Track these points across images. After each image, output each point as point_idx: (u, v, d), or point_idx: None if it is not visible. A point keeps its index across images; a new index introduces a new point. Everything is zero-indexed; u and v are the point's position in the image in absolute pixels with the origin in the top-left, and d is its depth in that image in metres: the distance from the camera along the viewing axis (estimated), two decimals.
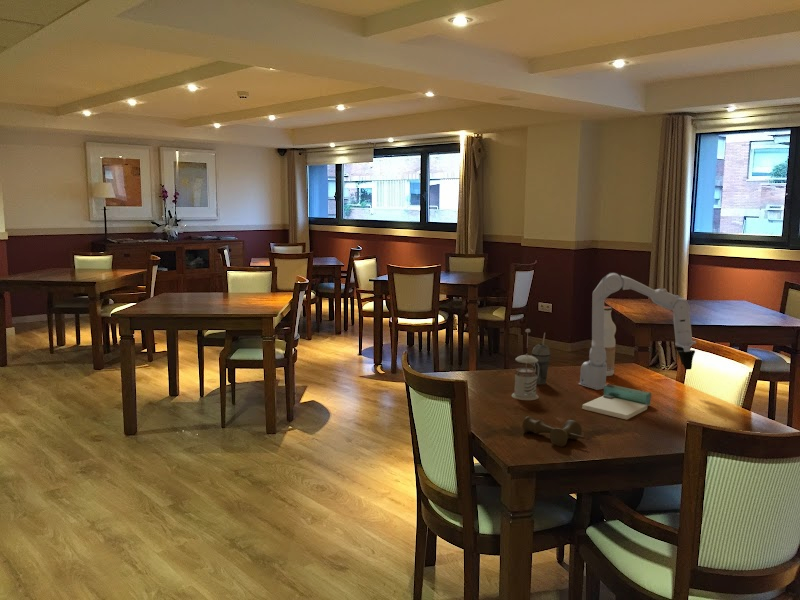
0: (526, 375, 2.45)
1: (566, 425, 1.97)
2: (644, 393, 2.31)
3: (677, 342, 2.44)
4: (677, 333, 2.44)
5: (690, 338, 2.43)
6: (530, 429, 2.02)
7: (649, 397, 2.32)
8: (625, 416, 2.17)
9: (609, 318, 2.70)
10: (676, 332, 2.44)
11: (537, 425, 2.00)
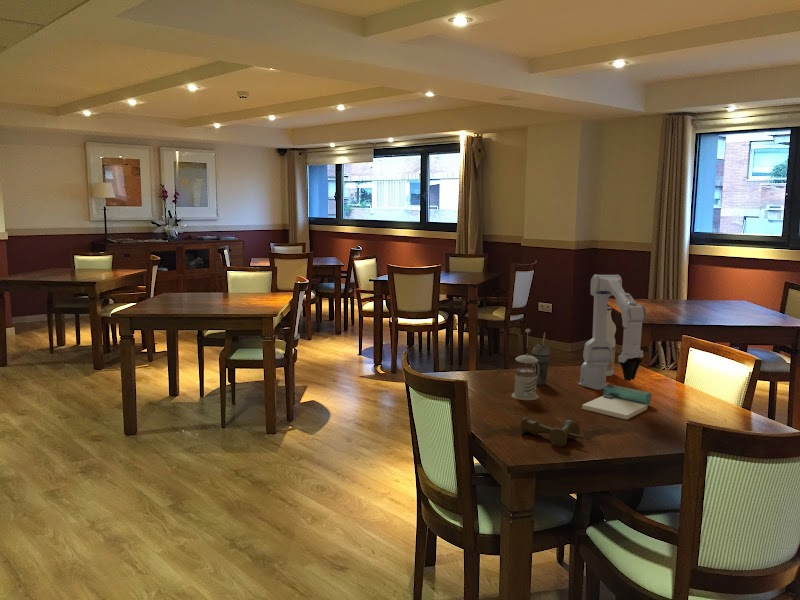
0: (526, 375, 2.45)
1: (564, 425, 1.97)
2: (644, 393, 2.31)
3: (622, 351, 2.26)
4: (623, 341, 2.26)
5: (634, 350, 2.23)
6: (528, 430, 2.01)
7: (649, 397, 2.32)
8: (625, 416, 2.17)
9: (609, 318, 2.70)
10: (623, 340, 2.26)
11: (535, 425, 2.00)
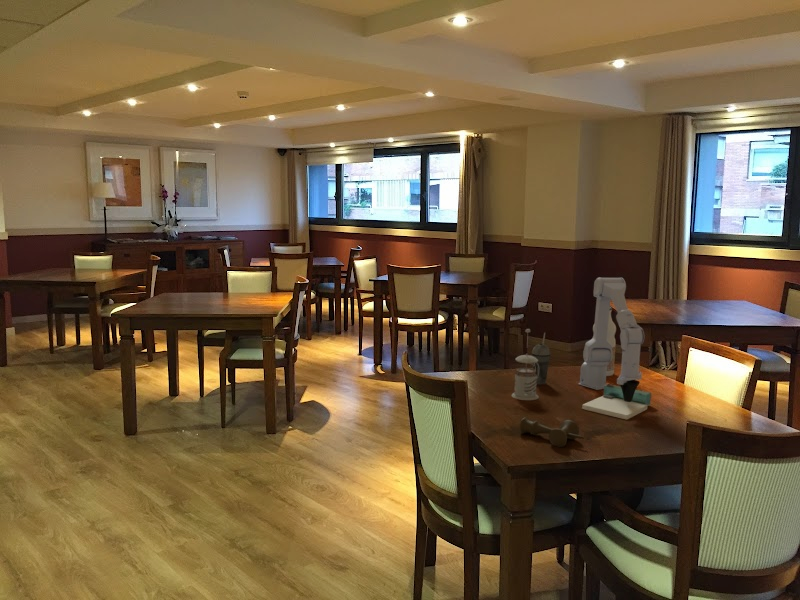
0: (526, 375, 2.45)
1: (564, 425, 1.97)
2: (644, 393, 2.31)
3: (621, 373, 2.28)
4: (622, 363, 2.27)
5: (633, 372, 2.24)
6: (527, 430, 2.01)
7: (649, 397, 2.32)
8: (625, 416, 2.17)
9: (609, 318, 2.70)
10: None
11: (534, 426, 1.99)
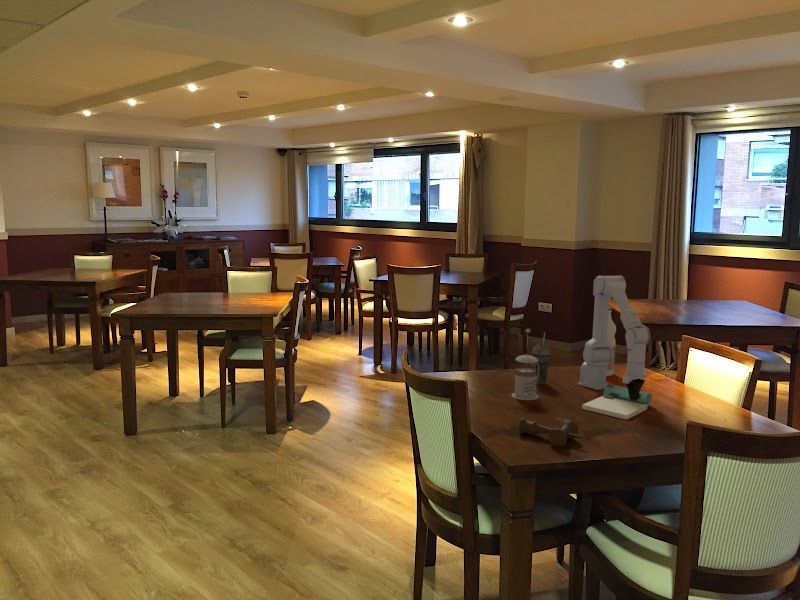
0: (526, 375, 2.45)
1: (563, 425, 1.97)
2: (644, 393, 2.31)
3: (626, 372, 2.31)
4: (627, 362, 2.30)
5: (638, 371, 2.27)
6: (526, 430, 2.01)
7: (649, 397, 2.32)
8: (625, 416, 2.17)
9: (609, 318, 2.70)
10: (627, 361, 2.30)
11: (533, 426, 1.99)
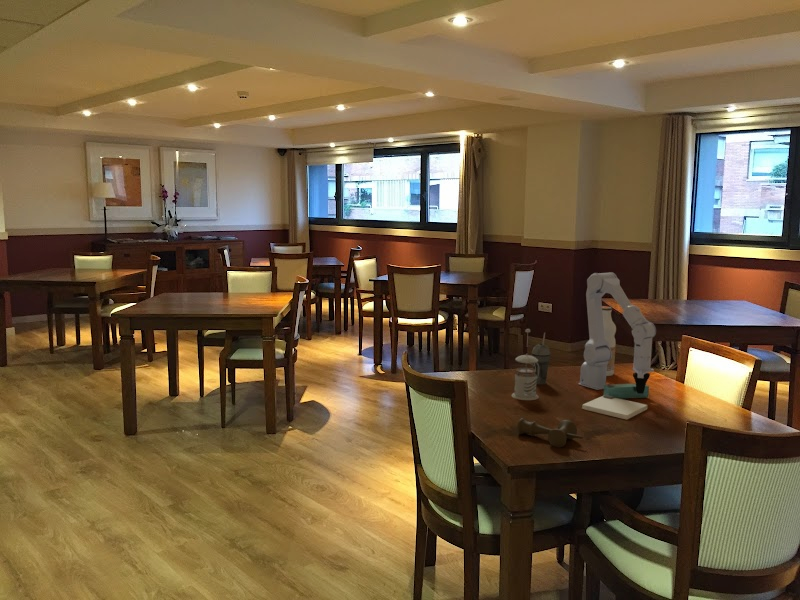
0: (526, 375, 2.45)
1: (562, 425, 1.97)
2: None
3: (634, 367, 2.37)
4: (635, 358, 2.36)
5: (648, 365, 2.35)
6: (525, 431, 2.00)
7: None
8: (625, 416, 2.17)
9: (609, 318, 2.70)
10: (635, 356, 2.37)
11: (532, 426, 1.99)
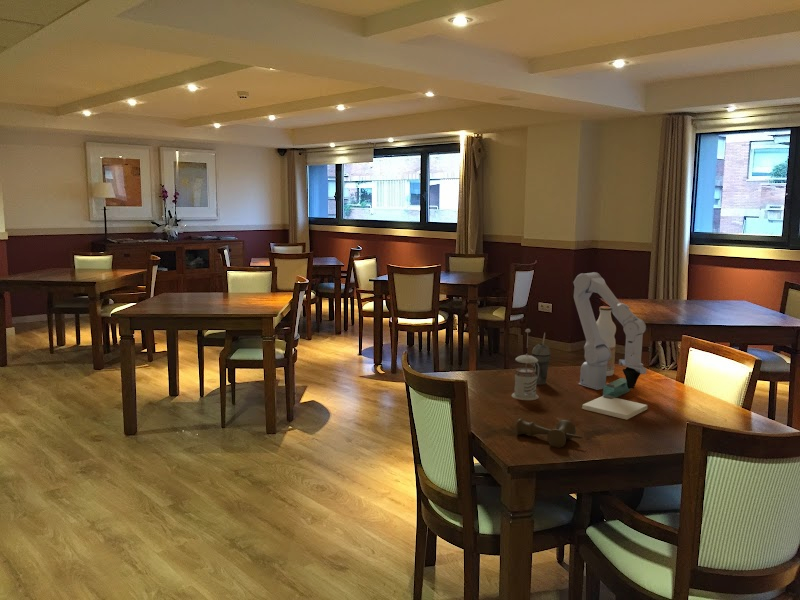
0: (526, 375, 2.45)
1: (561, 425, 1.97)
2: (625, 379, 2.50)
3: (629, 363, 2.42)
4: (630, 354, 2.42)
5: (640, 360, 2.43)
6: (524, 431, 2.00)
7: None
8: (625, 416, 2.17)
9: (609, 318, 2.70)
10: (629, 353, 2.42)
11: (531, 427, 1.98)
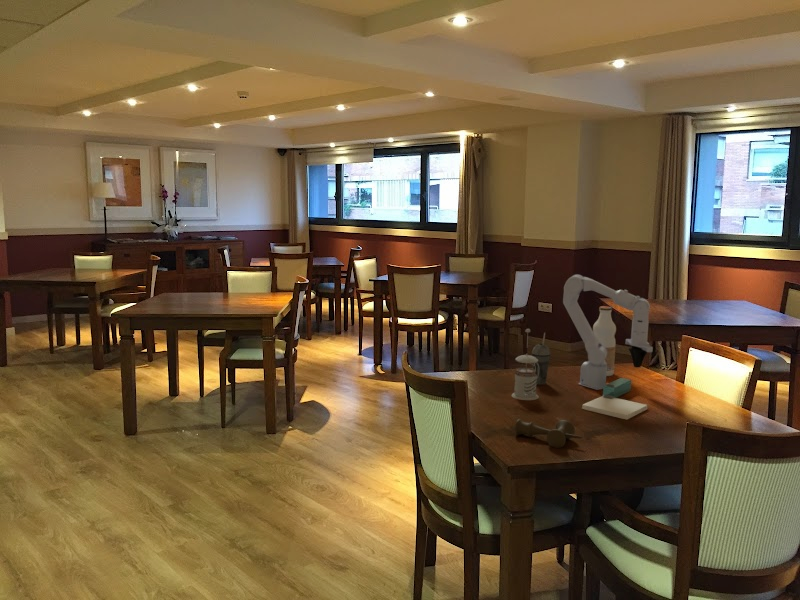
0: (526, 375, 2.45)
1: (560, 426, 1.97)
2: (625, 379, 2.50)
3: (635, 342, 2.46)
4: (637, 333, 2.45)
5: None
6: (523, 432, 1.99)
7: None
8: (625, 416, 2.17)
9: (609, 318, 2.70)
10: (636, 332, 2.45)
11: (530, 427, 1.98)
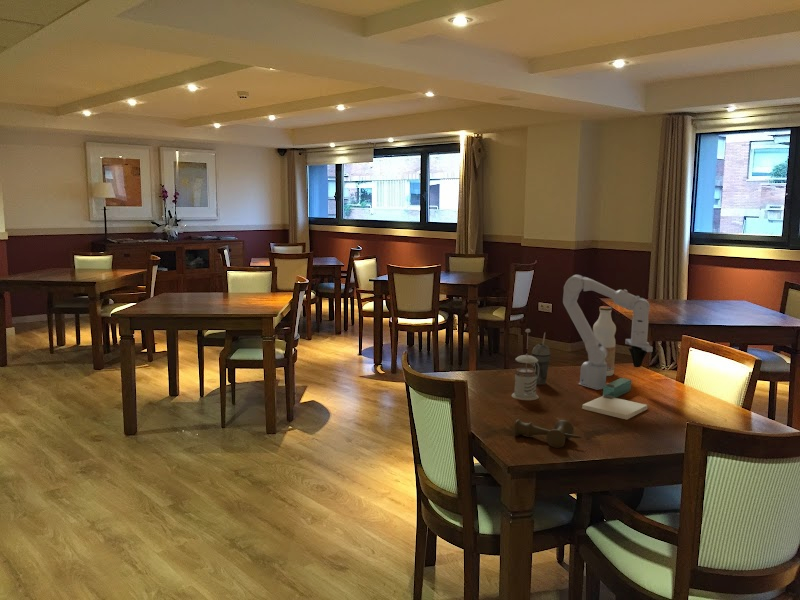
0: (526, 375, 2.45)
1: (559, 425, 1.97)
2: (625, 379, 2.50)
3: (635, 342, 2.46)
4: (637, 333, 2.45)
5: None
6: (522, 432, 1.99)
7: None
8: (625, 416, 2.17)
9: (609, 318, 2.70)
10: (636, 332, 2.46)
11: (529, 427, 1.98)
